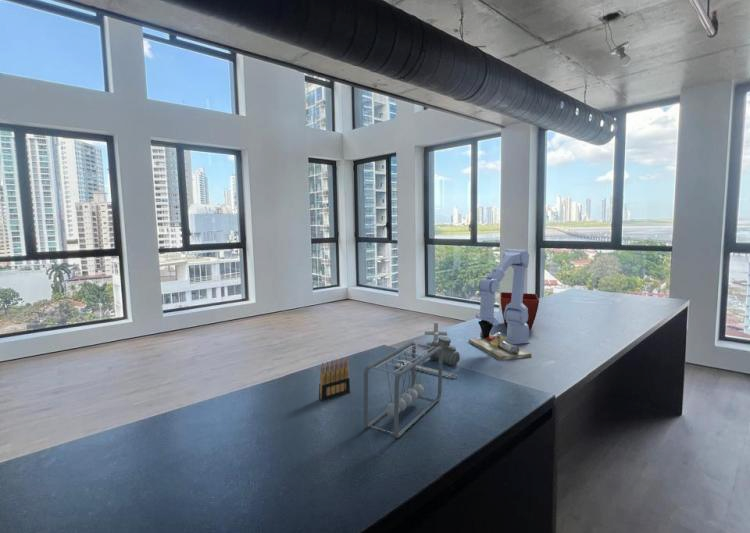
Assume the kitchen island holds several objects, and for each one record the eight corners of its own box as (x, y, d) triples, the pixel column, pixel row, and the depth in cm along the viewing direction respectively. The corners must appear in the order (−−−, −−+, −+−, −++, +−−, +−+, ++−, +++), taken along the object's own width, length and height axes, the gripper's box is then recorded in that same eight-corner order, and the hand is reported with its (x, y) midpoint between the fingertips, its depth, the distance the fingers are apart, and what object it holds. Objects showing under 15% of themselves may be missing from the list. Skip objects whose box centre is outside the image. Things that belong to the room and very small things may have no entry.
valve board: (496, 339, 195) (496, 336, 195) (531, 357, 170) (531, 353, 170) (468, 341, 191) (468, 338, 191) (499, 360, 166) (500, 356, 166)
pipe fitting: (424, 359, 164) (429, 335, 163) (437, 356, 170) (441, 333, 168) (448, 371, 156) (453, 345, 154) (460, 367, 161) (465, 343, 160)
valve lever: (497, 334, 181) (497, 331, 181) (502, 335, 180) (502, 332, 180) (485, 340, 172) (485, 337, 171) (491, 341, 170) (491, 338, 170)
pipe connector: (445, 341, 192) (446, 320, 191) (447, 347, 182) (447, 325, 181) (424, 340, 193) (424, 319, 192) (424, 346, 183) (425, 324, 182)
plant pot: (499, 329, 215) (500, 297, 213) (499, 320, 233) (500, 291, 231) (537, 332, 209) (539, 300, 207) (534, 323, 227) (536, 293, 225)
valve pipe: (487, 338, 193) (488, 327, 192) (519, 355, 169) (520, 342, 169) (479, 339, 192) (479, 327, 191) (510, 356, 168) (511, 343, 167)
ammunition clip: (321, 401, 126) (321, 364, 125) (318, 399, 128) (318, 362, 127) (350, 392, 133) (350, 357, 132) (346, 390, 134) (347, 355, 133)
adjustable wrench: (458, 378, 147) (458, 374, 147) (449, 384, 142) (450, 379, 142) (401, 362, 162) (401, 358, 162) (391, 367, 157) (392, 362, 157)
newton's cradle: (412, 391, 134) (413, 339, 132) (441, 399, 129) (443, 344, 127) (362, 430, 109) (363, 366, 107) (396, 442, 104) (397, 375, 102)
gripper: (470, 303, 178) (468, 333, 180) (488, 310, 165) (486, 343, 166) (484, 303, 180) (482, 333, 182) (503, 310, 167) (501, 342, 168)
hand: (485, 337), depth 174 cm, fingers closed
